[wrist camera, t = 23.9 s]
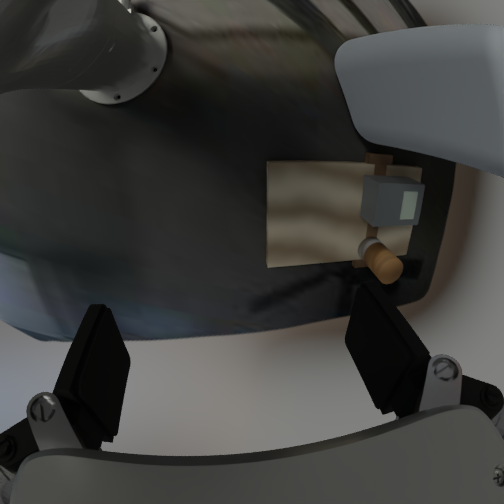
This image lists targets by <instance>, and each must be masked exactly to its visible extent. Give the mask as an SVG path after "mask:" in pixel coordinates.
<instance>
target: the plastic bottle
mask: <svg viewBox="0 0 504 504" xmlns="http://www.w3.org/2000/svg"><path fill="white" fill-rule="evenodd" d="M334 63H335V71H336V74H337V77H338V79H339V82H340V85H341V88H342V90H343V93H344V96H345V99H346V102H347V105H348V108H349V111H350V114H351V118H352V121H353V124H354V126H355V128H356V130H357V131H358V133H359V134H360V135H361V136H362V137H363V138H365V139H366V140H368V141H369V142H372V143H375V144H380V145H385V146H390V147H395V148H400V149H405V150H410V151H414V152H418V153H423V154H427V155H431V156H435V157H439V158H443V159H446V160H450V161H454V162H457V163H460V164H464V165H467V166H470V167H474V168H477V169H480V170H483V171H486V172H489V173H492V174H495V175H498V176H501V177H503V178H504V26H498V25H488V24H462V25H461V24H460V25H441V26H428V27H419V28H411V29H403V30H397V31H391V32H385V33H379V34H374V35H369V36H364V37H360V38H356V39H351V40H349V41H347V42H345V43H344V44H342V45H341V46H340V48H339V49H338V51H337V53H336V56H335V62H334Z"/></svg>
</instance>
